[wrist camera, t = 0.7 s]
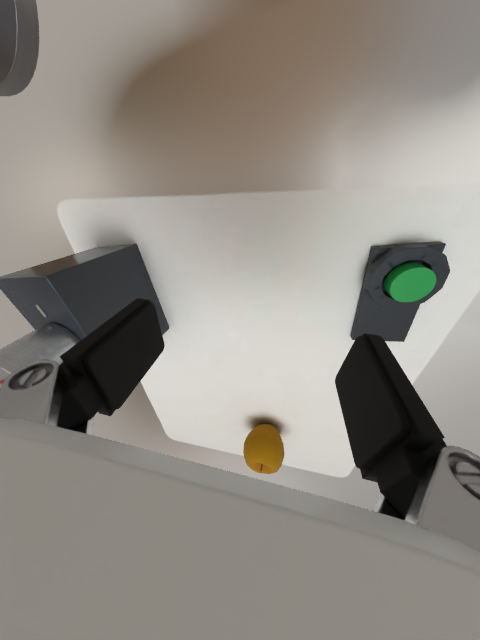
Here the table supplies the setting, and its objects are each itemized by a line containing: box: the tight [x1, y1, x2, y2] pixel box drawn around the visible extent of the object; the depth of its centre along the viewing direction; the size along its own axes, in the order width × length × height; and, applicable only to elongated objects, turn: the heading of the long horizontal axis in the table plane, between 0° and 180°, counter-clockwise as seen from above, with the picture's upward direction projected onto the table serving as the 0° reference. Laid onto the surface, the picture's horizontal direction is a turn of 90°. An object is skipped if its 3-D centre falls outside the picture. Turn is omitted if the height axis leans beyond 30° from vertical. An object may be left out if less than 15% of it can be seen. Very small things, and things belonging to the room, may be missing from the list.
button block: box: [351, 242, 450, 342], centre depth 22 cm, size 12×6×2 cm, turn 7°
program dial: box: [0, 323, 80, 387], centre depth 19 cm, size 4×4×6 cm
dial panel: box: [0, 244, 169, 341], centre depth 26 cm, size 14×9×12 cm, turn 7°
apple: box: [244, 424, 284, 474], centre depth 41 cm, size 8×8×9 cm
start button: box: [384, 262, 436, 302], centre depth 19 cm, size 4×4×2 cm
